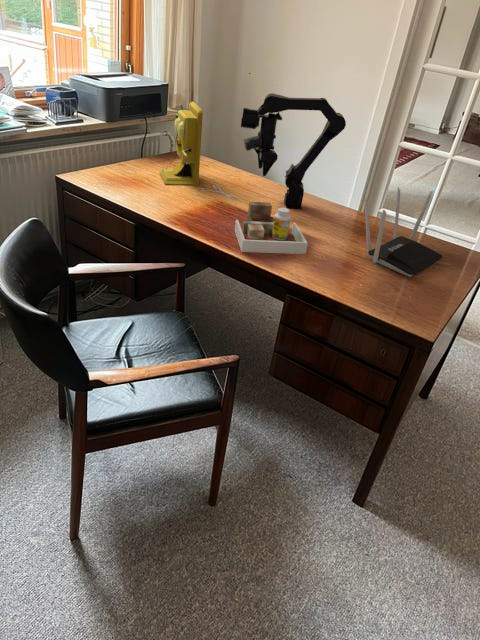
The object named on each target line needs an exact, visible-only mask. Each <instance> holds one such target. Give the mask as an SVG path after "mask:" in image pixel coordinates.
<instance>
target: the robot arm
mask: <svg viewBox="0 0 480 640" xmlns="http://www.w3.org/2000/svg"><path fill="white" fill-rule="evenodd" d="M289 110H290V111H291V110H292V111H319V112H321V113H322V115H323V116H324V117H325V119H326V120H327V121H326V123H325V125H324V128H322V129H323V130H322V132H321V133H320V135H319V136H318V137H317V139H316V140H315V142H314V143H313V144H312V145H311V147H310V148H308V150H307V152H306V153H305V154H304V155H303V157H302V158H301V160H299V162H298V163H297V164H295V165H294V164H293V163H291V164H290V166H289V168H288V169H287V170H286V171H285V176H284V183H285V186H286V187H287V189H286V192H285V193H284V199H283V204H284V206H285V208H287V209H297V210H298V209H299V210H302V209H303V206H302V203H303V199H304V195H305V193H304V192H305V189H304V183H303V180H304V177H305V174H306V172H307V170H308V169H309V168H310V167H311V165H313V163H314V162H315V160H316V159H317V158H318V156H319V155H320V154H321V153H322V151H323V150H324V149H325V148H326V146H327V145H328V144H329V142H330V141H332V140H333V139H335V138H336V137H337V136H338V135H340V134H341V133H342V132H343V130H345V128H346V125H347V124H346V123H347V121H346V119H345V117H344V115H343V114H342V113H340V112H336V110H335V109H334V107H332V106H331V104H330V103H329V102H328V99H327V98H325V97H318V98H317V97H288V96H285V95H281V94H277V93H268V94H267V95H265V97H264V99H263V103H262V104H261V105H260V106H259V107H258V108H257V109H252V108H247V107H243V109H242V117H241V122H240V128H244V129H251V130H256V128H258V127H260V128H259V131H258V132H257V135H255V136H254V135H253V136H251V137H247V138H244V139H243V144H244V149H245V150H246V151H247V152H249V151H251V150H252V149H253V150H254V151H255V153H256V154H257V156H256V157H257V164H258V165H257V166H258V169H260V170H261V169H262V176H263V177H266V176H267V175H268V173H269V171H270V170H271V169H272V167H273V165H274V164H275V163H276V162H277V161H278V157H279V155H278V154H277V152H276V151H275V146H274V142H275V139H276V137H277V135H276V129H277V123H278V121H282V120H283V116H282V115H281V112H284V111H289ZM260 119H261V121H260Z"/></svg>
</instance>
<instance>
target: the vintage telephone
mask: <svg viewBox="0 0 480 640" xmlns="http://www.w3.org/2000/svg"><path fill="white" fill-rule="evenodd" d="M188 105H189V106H188V110H185V109H183V107H184V106H183V105H182V104H180V107H181V108H180V109H179V110H178V111H177V114H175V120H174V131H175V133H176V136H175V146H174V147H175V150H176V155H175V157H174V158H173V159H172V161H171V162H170V163H169V165H171V164H172V163H173V161H174V160H175V158H176V157H177V156H178V157H179V158H180V160H181V161H180V162H179V163H177V164H176V165H175V167H174V168H173V169H168V167H169V166H167V168H166V169H162V170H161V171H160V170H159V172H158V173H159V175H160V177H161V179H162V182H163V183H164V185H165V186H193V187H199V179H200V165H201V164H200V163H201V148H202V147H201V146H202V134H203V133H202V131H203V130H202V128H203V116H204V112H203V109H202V108H201V107H200V106H199V105H197V104H196V103H195V102H194V101H191V102H190V103H189V104H188Z"/></svg>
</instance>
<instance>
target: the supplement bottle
mask: <svg viewBox="0 0 480 640" xmlns="http://www.w3.org/2000/svg"><path fill="white" fill-rule="evenodd" d="M290 211H291V210H290V208H287V207H279V208H278V209H277V213H275V214H274V216H273V218H274V223H273V230H272V234H271V238H273V239H274V240H276V241H286V240H287V238H288V237H289V236H288V235H289V229H290V224H291V219H292V218H291V215H290Z"/></svg>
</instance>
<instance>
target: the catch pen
mask: <svg viewBox="0 0 480 640" xmlns="http://www.w3.org/2000/svg"><path fill="white" fill-rule="evenodd" d="M291 228H292V229H291V235H292V236H293V238H294V240H295V241H291V240H290V241H289V240H269V239H268V240H265V239H245V235H244V233H243V229H242V227H241V224H240V222H239V219H235V224H234V232H235V233H234V234H235V235H236V239H237V241H238V245H239V247H240V248H239V249H240V251H241V253H262V254H290V255H292V254H293V255H306V254H307V248H308V241H307V240H306V237H305V236H304V235H303V233H302V231H301V230H300V228H299V226H298V224H297V223H296V222H295V221H294V222H293V223H292V227H291Z"/></svg>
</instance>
